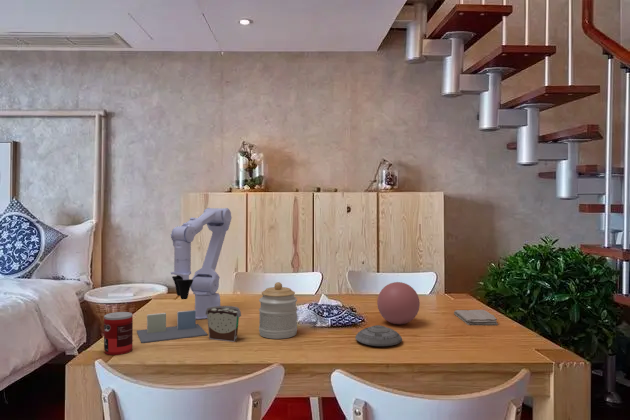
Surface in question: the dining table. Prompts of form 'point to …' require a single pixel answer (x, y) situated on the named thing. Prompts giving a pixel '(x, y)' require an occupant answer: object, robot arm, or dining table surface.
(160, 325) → the tile sage
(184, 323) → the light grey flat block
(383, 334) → the flying saucer
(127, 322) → the canned food
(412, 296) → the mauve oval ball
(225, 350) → the dining table surface
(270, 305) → the jar
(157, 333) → the mat
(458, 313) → the washcloth
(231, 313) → the food container
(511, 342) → the dining table surface
